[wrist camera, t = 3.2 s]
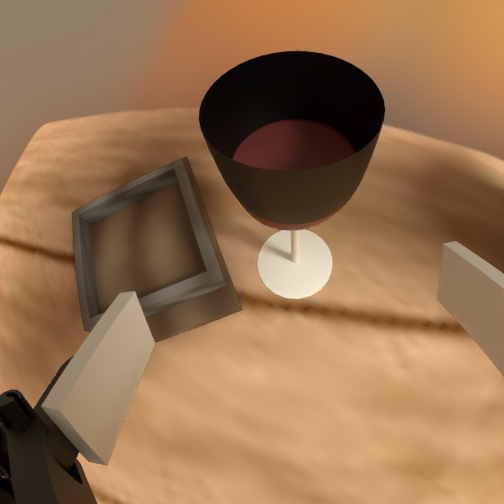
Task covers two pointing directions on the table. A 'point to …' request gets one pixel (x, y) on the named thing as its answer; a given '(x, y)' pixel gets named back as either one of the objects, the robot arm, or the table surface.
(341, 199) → the wineglass
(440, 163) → the table surface
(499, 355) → the robot arm
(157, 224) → the tray
